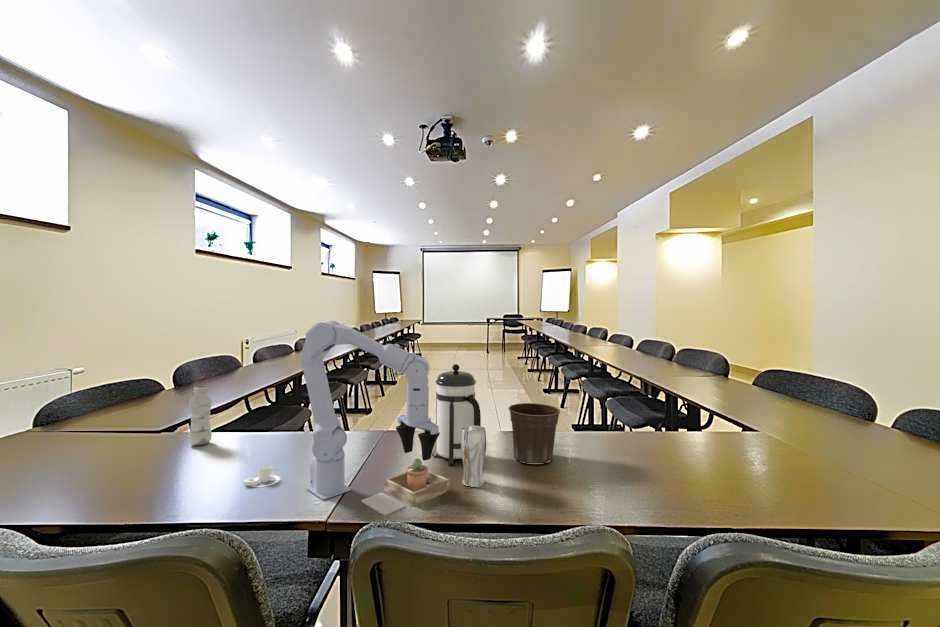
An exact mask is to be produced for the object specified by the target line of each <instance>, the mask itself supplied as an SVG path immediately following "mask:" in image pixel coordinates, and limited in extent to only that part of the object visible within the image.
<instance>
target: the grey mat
mask: <svg viewBox="0 0 940 627" xmlns="http://www.w3.org/2000/svg"><path fill="white" fill-rule="evenodd" d="M360 502H361V503H362V504H364V505H366V506H367V507H369V508H371V509H372V510H374V511H376V512H377V513H378V514H381V515H382V516H384V517H386V516H388V515H390V514H393V513H395V512H398V511H400V510H402V509H404V508H406V505H405V504H403V503H401V502H400V501H398V500H396V499H395V498H392V497H391V496H389V495H387V494H385V493H384V492H378V493H377V494H374V495H371V496H368V497H366V498H363V499H361V501H360Z"/></svg>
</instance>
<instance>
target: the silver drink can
mask: <svg viewBox="0 0 940 627" xmlns="http://www.w3.org/2000/svg"><path fill="white" fill-rule="evenodd" d="M486 433H487V432H486V428H485V427H484V426H482V425H481V426H476V425H471V426H465V427H463V428H462V433H461V454H462V458H461V459H462V464H463V465H462V468H463V474H462V480H461V482H462V483H463V484H464V485H466V486H471V487H473V486H480V485H482V484H484V485H485V478H484V465H485V464H484V463H485V457H486V454H487V453H486V451H487V434H486ZM462 483H461V484H462ZM463 484H462V485H463ZM464 485H463V486H464ZM466 486H465V487H466Z"/></svg>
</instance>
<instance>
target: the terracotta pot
mask: <svg viewBox="0 0 940 627" xmlns="http://www.w3.org/2000/svg"><path fill="white" fill-rule="evenodd" d="M428 469H429V466H427V465H425V464H423V463H422V460H421V459H420V458H415V459H413V461H412V464H411V465H408V466H407V467H406V469H405V470H406V471H405V472H407V484H406V485H407V489H409V490H411V491H413V492H415V491H418V490H420V489H423V488H425V487H428V485H427V484H428V483H427V472H428V471H429V470H428Z"/></svg>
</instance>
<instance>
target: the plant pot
mask: <svg viewBox="0 0 940 627" xmlns="http://www.w3.org/2000/svg"><path fill="white" fill-rule="evenodd" d="M508 411H509V413H510V414H509V416H510V422H511V428H512V429H511V431H512V444H513V445H512V446H513V448H512V449H513V459H514V460H515V459H517V460H516V461H521V462H525V463H544V462H548V461H550V460H552V461H553V456H554V447H555V438H556V431H557V425H558V422H559V415H560V414H561V410H560V409H559V408H558V407H556V406H553V405H549V404H545V403H544V404H543V403H533V402H528V403H527V402H523V403H515V404H511V405H510V406H508ZM521 462H520V463H521ZM544 464H545V463H544Z"/></svg>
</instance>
